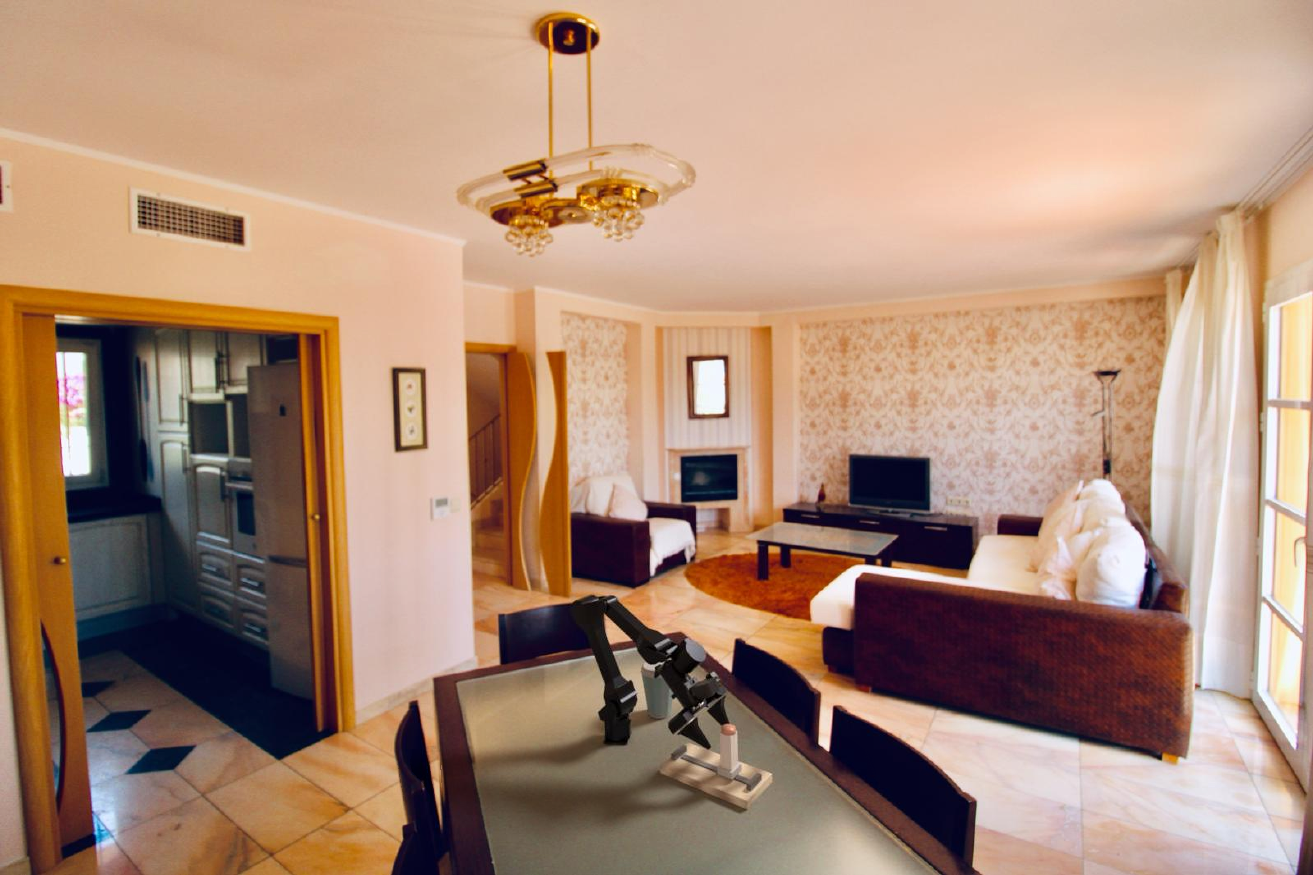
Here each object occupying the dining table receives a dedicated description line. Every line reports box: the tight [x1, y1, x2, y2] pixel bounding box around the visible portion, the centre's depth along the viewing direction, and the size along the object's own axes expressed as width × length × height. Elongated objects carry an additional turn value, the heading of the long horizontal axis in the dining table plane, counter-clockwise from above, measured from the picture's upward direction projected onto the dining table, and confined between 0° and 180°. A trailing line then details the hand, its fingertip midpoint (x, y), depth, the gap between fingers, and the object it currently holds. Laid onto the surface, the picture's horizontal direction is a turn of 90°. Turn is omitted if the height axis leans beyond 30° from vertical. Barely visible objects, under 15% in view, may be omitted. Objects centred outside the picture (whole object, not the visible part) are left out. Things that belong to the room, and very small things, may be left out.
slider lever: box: [717, 723, 742, 780], centre depth 146 cm, size 4×4×11 cm
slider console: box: [659, 742, 773, 810], centre depth 148 cm, size 24×12×3 cm, turn 53°
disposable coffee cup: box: [640, 658, 674, 720], centre depth 179 cm, size 11×11×15 cm
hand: (720, 739), depth 147 cm, fingers open, 9 cm apart
